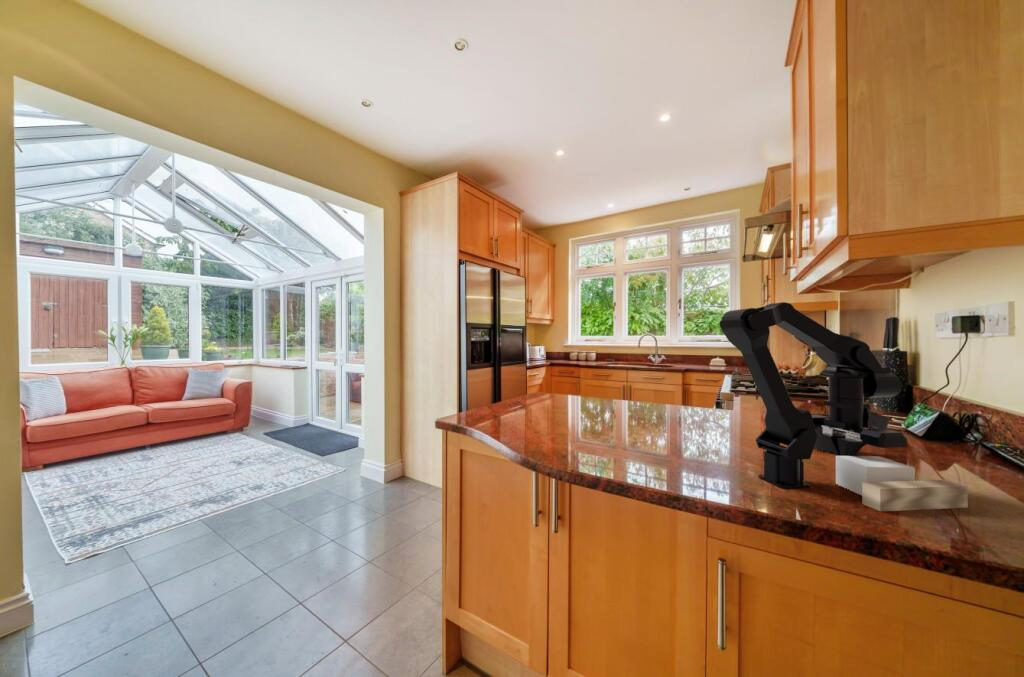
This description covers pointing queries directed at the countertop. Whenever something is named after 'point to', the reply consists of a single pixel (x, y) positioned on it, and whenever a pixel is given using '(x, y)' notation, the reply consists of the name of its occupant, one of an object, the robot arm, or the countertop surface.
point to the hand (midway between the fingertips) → (846, 468)
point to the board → (914, 495)
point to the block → (869, 471)
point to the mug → (821, 439)
